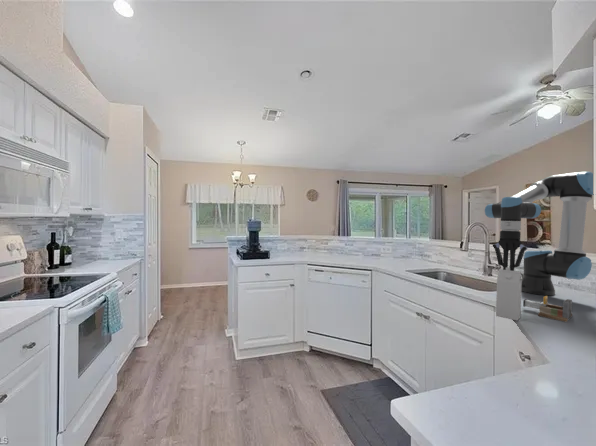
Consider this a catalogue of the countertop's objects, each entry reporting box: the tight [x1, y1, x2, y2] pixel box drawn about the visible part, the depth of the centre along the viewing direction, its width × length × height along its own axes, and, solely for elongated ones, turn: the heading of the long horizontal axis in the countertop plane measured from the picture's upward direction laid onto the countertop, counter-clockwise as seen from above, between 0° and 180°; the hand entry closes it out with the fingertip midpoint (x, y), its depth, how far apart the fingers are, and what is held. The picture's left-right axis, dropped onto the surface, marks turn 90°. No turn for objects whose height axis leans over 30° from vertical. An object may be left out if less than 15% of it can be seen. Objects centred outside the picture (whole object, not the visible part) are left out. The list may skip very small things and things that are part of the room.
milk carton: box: [495, 268, 522, 321], centre depth 113 cm, size 7×7×19 cm
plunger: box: [522, 295, 549, 311], centre depth 120 cm, size 4×8×6 cm, turn 37°
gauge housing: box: [537, 298, 573, 323], centre depth 115 cm, size 12×8×7 cm
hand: (508, 281), depth 127 cm, fingers closed
